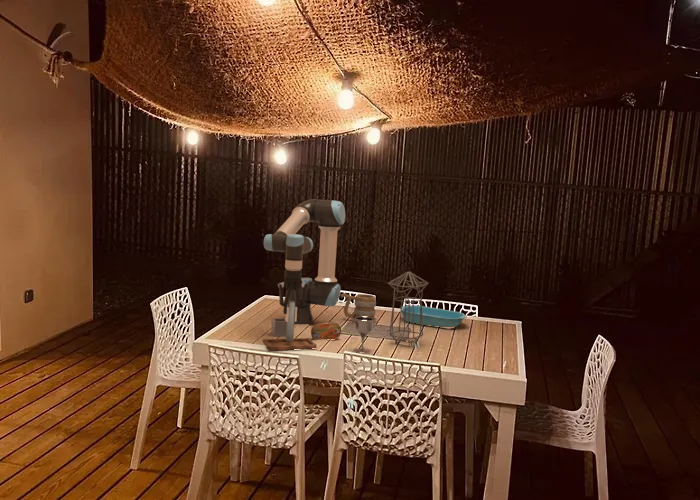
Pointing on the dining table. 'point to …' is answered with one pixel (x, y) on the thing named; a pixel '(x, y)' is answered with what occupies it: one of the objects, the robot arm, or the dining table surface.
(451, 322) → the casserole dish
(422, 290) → the geometric lantern
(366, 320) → the wine glass
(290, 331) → the dowel
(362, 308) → the tankard
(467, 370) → the dining table surface
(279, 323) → the cup
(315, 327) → the tin
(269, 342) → the tray
